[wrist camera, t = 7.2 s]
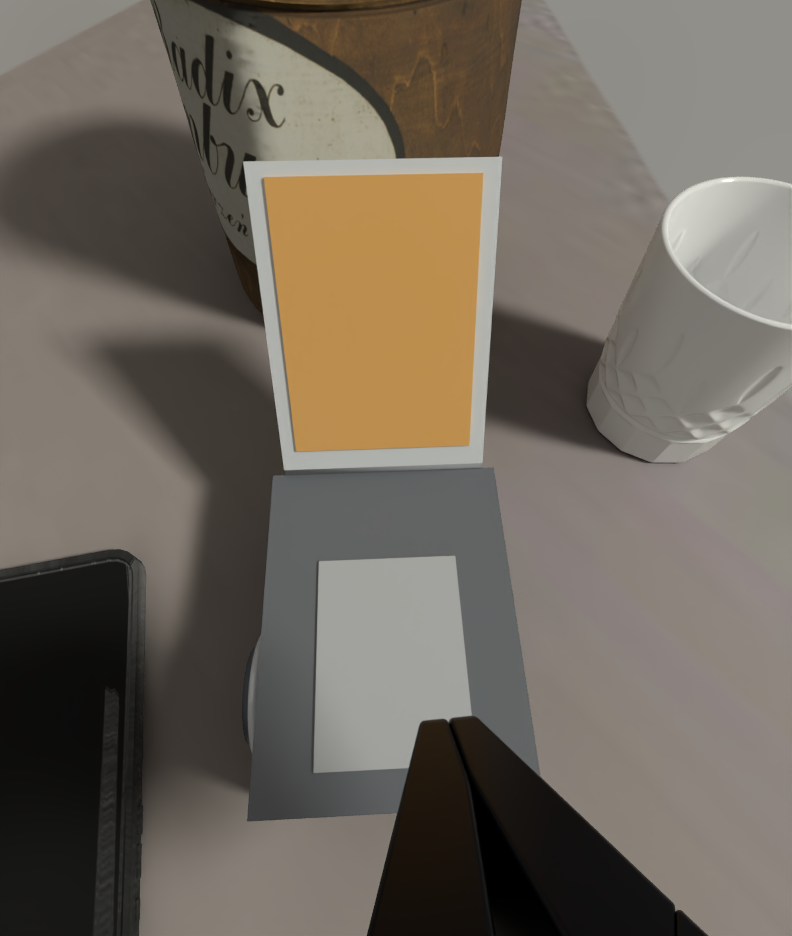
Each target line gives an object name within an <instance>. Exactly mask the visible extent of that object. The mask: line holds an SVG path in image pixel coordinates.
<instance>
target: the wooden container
mask: <svg viewBox="0 0 792 936" xmlns="http://www.w3.org/2000/svg"><path fill="white" fill-rule="evenodd" d="M521 1H522V0H151V3H152V7H153V10H154V13H155V16H156V19H157V22H158V26H159V29H160V32H161V35H162V38H163V41H164V44H165V48H166V51H167V54H168V57H169V60H170V63H171V67H172V70H173V73H174V76H175V79H176V83H177V86H178V89H179V92H180V96H181V99H182V103H183V106H184V109H185V113H186V116H187V120H188V123H189V126H190V130H191V133H192V137H193V140H194V143H195V146H196V149H197V152H198V156H199V159H200V162H201V165H202V168H203V172H204V175H205V178H206V181H207V184H208V187H209V190H210V193H211V196H212V199H213V202H214V205H215V207H216V210H217V213H218V216H219V219H220V222H221V225H222V227H223V230H224V232H225V234H226V238H227V241H228V244H229V247H230V250H231V253H232V256H233V259H234V262H235V265H236V268H237V271H238V274H239V276H240V279H241V282H242V284H243V287H244V289H245V291H246V293H247V295H248V296H249V298H250V299H251V300H252V302H253V303H254V304H255V306H256V307H257V308H258V309H259V310H260V311H261V312H262V313H263V308H262V300H261V292H260V285H259V277H258V270H257V262H256V255H255V247H254V240H253V232H252V225H251V217H250V210H249V202H248V195H247V187H246V180H245V172H244V165H243V162H246V161H300V160H355V159H409V158H463V157H499V152H500V146H501V140H502V133H503V127H504V120H505V113H506V105H507V98H508V90H509V83H510V75H511V68H512V61H513V54H514V47H515V41H516V34H517V28H518V21H519V14H520V8H521Z"/></svg>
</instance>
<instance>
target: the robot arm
mask: <svg viewBox="0 0 792 936" xmlns="http://www.w3.org/2000/svg"><path fill="white" fill-rule="evenodd" d="M367 936H708V935H707V934H706V933H705V932H704V931H703V930H702V929H700V928H699V927H698V926H697V925H696V924H695V923H694V922H693V921H692V920H691V919H690V918H689V917H688V916H687V915H686V914H685V913H684V912H683V911H681V910H677V911H676V913H675V905H674V903H673V902H672V901H671V900H670V899H668V898H667V897H666V896H665V895H664V894H663V893H662V892H661V891H660V890H659V889H658V888H657V887H656V886H655V885H654V884H653V883H652V882H651V881H649V880H648V879H647V878H646V877H645V876H644V875H643V874H642V873H641V872H640V871H639V870H638V869H637V868H636V867H635V866H634V865H633V864H632V863H631V862H629V861H628V860H627V859H626V858H625V857H624V856H623V855H622V854H621V853H620V852H619V851H618V850H617V849H616V848H615V847H614V846H613V845H612V844H611V843H609V842H608V841H607V840H606V839H605V838H604V837H603V836H602V835H601V834H600V833H599V832H598V831H597V830H596V829H595V828H594V827H593V826H592V825H590V824H589V823H588V822H587V821H586V820H585V819H584V818H583V817H582V816H581V815H580V814H579V813H578V812H577V811H576V810H575V809H574V808H573V807H572V806H570V805H569V804H568V803H567V802H566V801H565V800H564V799H563V798H562V797H561V796H560V795H559V794H558V793H557V792H556V791H555V790H554V789H553V788H551V787H550V786H549V785H548V784H547V783H546V782H545V781H544V780H543V779H542V778H541V777H540V776H539V775H538V774H537V773H536V772H535V771H534V770H533V769H531V768H530V767H529V766H528V765H527V764H526V763H525V762H524V761H523V760H522V759H521V758H520V757H519V756H518V755H517V754H516V753H515V752H514V751H512V750H511V749H510V748H509V747H508V746H507V745H506V744H505V743H504V742H503V741H502V740H501V739H500V738H499V737H498V736H497V735H496V734H495V733H494V732H492V731H491V730H490V729H489V728H488V727H487V726H486V725H485V724H484V723H483V722H482V721H481V720H480V719H479V718H477V717H475V716H462V717H453V718H451V719H450V720H449V722H448V721H447V720H446V719H443V718H442V719H432V720H424V721H422V722H421V723H420V724H419V728H418V732H417V736H416V740H415V744H414V748H413V752H412V756H411V760H410V764H409V768H408V772H407V776H406V780H405V784H404V788H403V792H402V796H401V800H400V804H399V808H398V812H397V816H396V820H395V824H394V828H393V833H392V837H391V841H390V845H389V849H388V853H387V857H386V861H385V865H384V869H383V873H382V877H381V881H380V885H379V889H378V893H377V897H376V901H375V905H374V909H373V913H372V917H371V921H370V925H369V929H368V933H367Z"/></svg>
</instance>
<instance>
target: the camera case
mask: <svg viewBox="0 0 792 936" xmlns="http://www.w3.org/2000/svg"><path fill="white" fill-rule="evenodd" d="M242 716H243V729H244V735H245V739H246V741H247V743H248V745H250V748H251V752H252V764H251V777H250V791H249V804H248V818H247V821H264V820H282V819H300V818H318V817H336V816H354V815H372V814H390V813H397V812H398V808H399V804H400V800H401V796H402V792H403V788H404V784H405V780H406V776H407V772H408V768H409V764H410V760H411V756H412V752H413V748H414V744H415V740H416V736H417V732H418V728H419V724H420V723H421V722H422V721H424V720H432V719H442V718H443V719H446V720H447V721H448V722H449V720H450V719H451V718H453V717H462V716H475V717H477V718H479V719H480V720H481V721H482V722H483V723H484V724H485V725H486V726H487V727H488V728H489V729H490V730H491V731H492V732H494V733H495V734H496V735H497V736H498V737H499V738H500V739H501V740H502V741H503V742H504V743H505V744H506V745H507V746H508V747H509V748H510V749H511V750H512V751H514V752H515V753H516V754H517V755H518V756H519V757H520V758H521V759H522V760H523V761H524V762H525V763H526V764H527V765H528V766H529V767H530V768H531V769H533V770H534V771H535V772H536V773H537V774H538V775H539V776H540V771H539V764H538V758H537V751H536V744H535V738H534V731H533V725H532V718H531V711H530V705H529V698H528V692H527V685H526V678H525V672H524V665H523V659H522V652H521V645H520V639H519V632H518V626H517V619H516V612H515V606H514V599H513V593H512V586H511V579H510V573H509V566H508V560H507V553H506V546H505V540H504V533H503V527H502V520H501V513H500V507H499V500H498V494H497V487H496V480H495V474H494V468H470V469H442V470H415V471H387V472H359V473H332V474H304V475H274V476H273V481H272V494H271V508H270V521H269V535H268V548H267V562H266V575H265V589H264V602H263V616H262V629H261V635H260V637H259V639H258V642H257V644H256V647H254V648H253V650H252V652H251V654H250V656H249V659H248V663H247V667H246V673H245V679H244V687H243V702H242Z"/></svg>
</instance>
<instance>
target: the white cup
mask: <svg viewBox="0 0 792 936" xmlns="http://www.w3.org/2000/svg"><path fill="white" fill-rule="evenodd" d="M791 387H792V184H789V183H786V182H781V181H776V180H771V179H765V178H757V177H725V178H718V179H712V180H708V181H705V182H701V183H698V184H696V185H693V186H691V187H689V188H687V189H685V190H684V191H682V192H681V193H679V194H678V195H677V196H676V197H675V198H674V199H673V200H672V201H671V202H670V203H669V205H668V206H667V208H666V209H665V211H664V213H663V216H662V218H661V220H660V222H659V224H658V227H657V229H656V231H655V233H654V235H653V238H652V240H651V242H650V244H649V246H648V249H647V251H646V253H645V255H644V257H643V259H642V262H641V264H640V266H639V268H638V270H637V272H636V274H635V277H634V279H633V281H632V283H631V285H630V287H629V289H628V292H627V294H626V296H625V298H624V300H623V302H622V304H621V307H620V309H619V311H618V314H617V316H616V319H615V322H614V324H613V326H612V328H611V330H610V332H609V334H608V337H607V339H606V342H605V345H604V348H603V351H602V355H601V357H600V359H599V361H598V363H597V365H596V367H595V369H594V372H593V374H592V376H591V378H590V380H589V382H588V392H587V408H588V411H589V413H590V415H591V417H592V419H593V421H594V423H595V425H596V427H597V429H598V431H599V432H600V433H601V434H603V435H604V436H605V437H606V438H607V439H608V440H609V441H611V442H612V443H613V444H614V445H615V446H616V447H617V448H619V449H620V450H621V451H623V452H625V453H628V454H631V455H633V456H636V457H638V458H641V459H643V460H646V461H649V462H652V463H683V462H685V461H687V460H689V459H691V458H694V457H696V456H698V455H700V454H702V453H704V452H706V451H708V450H709V449H710V448H712V447H713V446H714V445H715V444H716V443H718V442H719V441H720V440H721V439H722V438H724V437H725V436H726V435H727V434H728V433H730V432H732V431H734V430H735V429H737V428H738V427H740V426H741V425H743V424H744V423H746V422H747V421H748V420H750V419H751V418H752V417H754V416H755V415H756V414H757V413H758V412H759V411H761V410H762V409H764V408H765V407H767V406H768V405H769V404H771V403H772V402H773V401H775V400H776V399H777V398H779V397H780V396H781V395H782V394H784V393H785V392H786V391H787V390H789V389H790V388H791Z"/></svg>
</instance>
